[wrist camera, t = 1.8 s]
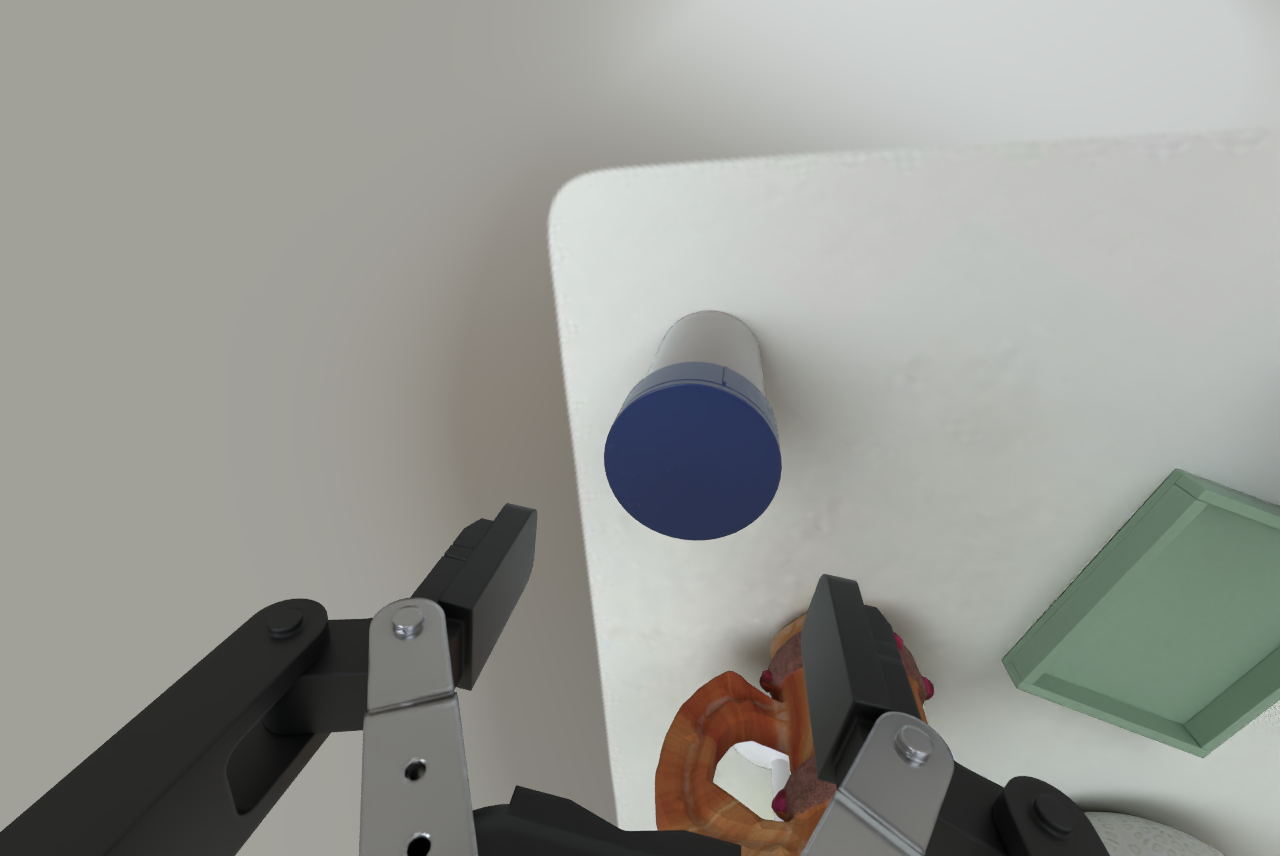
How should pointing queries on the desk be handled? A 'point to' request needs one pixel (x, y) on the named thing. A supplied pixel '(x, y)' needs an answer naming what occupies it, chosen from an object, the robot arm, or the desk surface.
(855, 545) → the desk surface
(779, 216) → the desk surface
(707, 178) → the desk surface
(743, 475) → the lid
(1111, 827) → the planter
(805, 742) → the mug
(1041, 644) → the tray
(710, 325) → the jar
